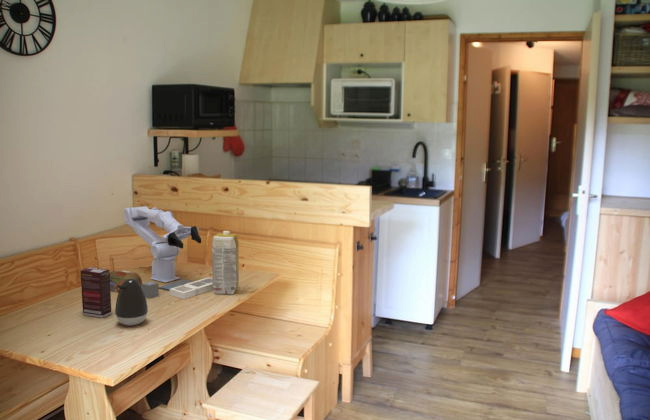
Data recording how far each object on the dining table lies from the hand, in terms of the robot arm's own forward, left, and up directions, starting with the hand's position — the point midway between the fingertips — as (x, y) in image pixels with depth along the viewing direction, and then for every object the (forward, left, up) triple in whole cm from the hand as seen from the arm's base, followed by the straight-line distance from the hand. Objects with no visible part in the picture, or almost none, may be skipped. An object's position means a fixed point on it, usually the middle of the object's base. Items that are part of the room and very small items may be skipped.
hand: (191, 243), depth 220 cm
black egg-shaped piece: (+10, -36, -19) cm, 42 cm away
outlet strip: (+1, +3, -19) cm, 19 cm away
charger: (-8, -14, -19) cm, 25 cm away
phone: (-10, +2, -20) cm, 22 cm away
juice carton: (+11, +7, -19) cm, 23 cm away
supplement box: (-6, -38, -19) cm, 43 cm away
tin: (-19, -17, -19) cm, 32 cm away
